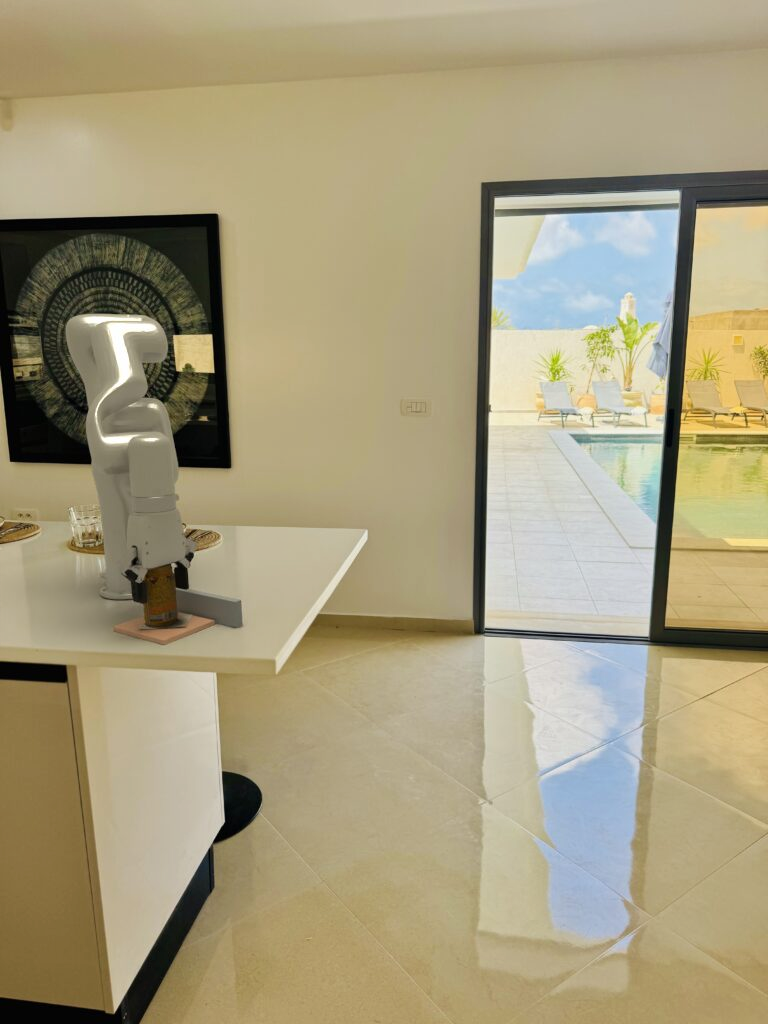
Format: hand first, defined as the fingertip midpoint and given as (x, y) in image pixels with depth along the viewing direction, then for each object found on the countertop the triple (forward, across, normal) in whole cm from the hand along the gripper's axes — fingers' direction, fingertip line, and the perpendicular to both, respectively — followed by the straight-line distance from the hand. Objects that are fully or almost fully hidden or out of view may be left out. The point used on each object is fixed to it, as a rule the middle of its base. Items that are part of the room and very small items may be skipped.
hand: (161, 595), depth 133 cm
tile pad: (+6, 0, 0) cm, 6 cm away
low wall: (+6, -8, +1) cm, 10 cm away
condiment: (+6, -1, 0) cm, 6 cm away
